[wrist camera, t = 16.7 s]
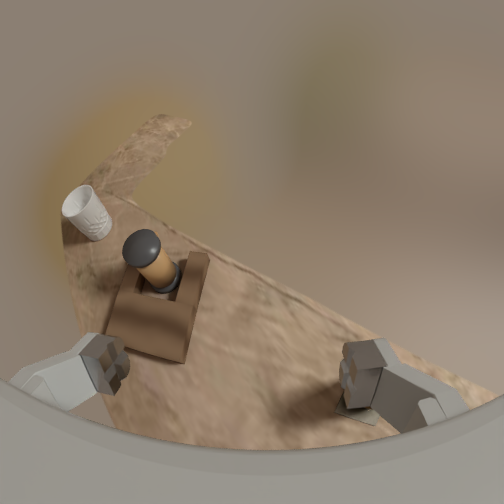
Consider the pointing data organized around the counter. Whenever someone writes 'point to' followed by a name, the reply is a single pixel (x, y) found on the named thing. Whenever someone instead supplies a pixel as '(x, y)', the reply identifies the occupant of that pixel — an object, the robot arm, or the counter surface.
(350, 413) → the condiment
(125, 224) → the counter surface
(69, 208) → the white cup
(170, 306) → the notched board
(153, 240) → the tan grey capped cylinder
